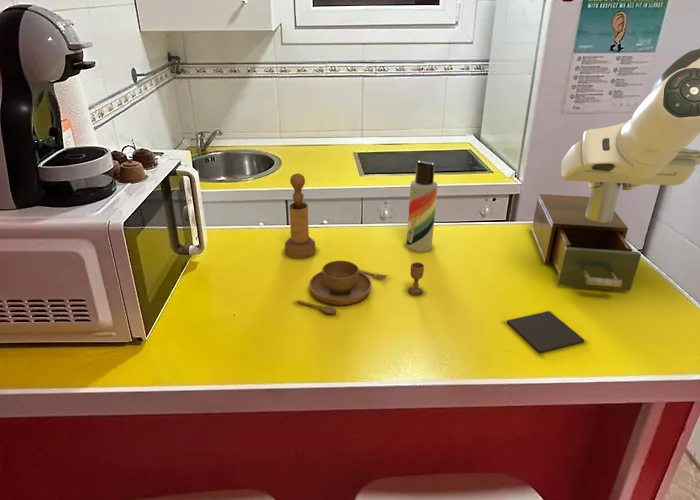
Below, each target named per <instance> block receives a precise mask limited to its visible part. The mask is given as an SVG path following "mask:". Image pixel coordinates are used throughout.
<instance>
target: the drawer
mask: <svg viewBox="0 0 700 500" xmlns="http://www.w3.org/2000/svg"><path fill="white" fill-rule="evenodd" d="M550 256H551V259H552V261H553V263H554V265H553V266H554V268H555V271H556V273H557V279H556V284H557V285H558V286H567V287H581V288H592V289H607V290H619V291H620V290H621V291H631V289H632V286H633V283H634V279H635V277H636V273H637V270H638V267H639V264H640V260H641V256H642V253H641V252H639V251H633V248H632V247H631V245H630V244H629V242H628V241H627V240H626V238H625V239H624V237H623V236H622V235H621V233H620V232H619V231H610V230H595V229H579V228H564V227H556V230H555V235H554V240H553V244H552V249H551V254H550Z"/></svg>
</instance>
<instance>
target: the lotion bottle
mask: <svg viewBox="0 0 700 500" xmlns="http://www.w3.org/2000/svg"><path fill="white" fill-rule="evenodd" d="M415 165H416V166H415V177H414V180H412V181H411V182H410V186H409V200H408V201H409V203H408V215H407V231H406V247H407V249H408V250H410V251H413V252H417V253H424V252H425V253H426V252H428V251H430V250H431V249H432V246H433V240H434V239H433V238H434V228H435V215H436V207H437V206H436V205H437V195H438V183H437V182H436V181H435V180H434V179H435V169H436V168H435V166H436V163H435V162H432V161H428V160H423V159H419V160H417V161H416V164H415Z"/></svg>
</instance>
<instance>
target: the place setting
mask: <svg viewBox="0 0 700 500" xmlns="http://www.w3.org/2000/svg"><path fill="white" fill-rule="evenodd" d="M424 269H425V265H424V263H423V262H422V263H421V262H411V264H410V277H411V278H412V279H413V284H412V286H413V287H410V288H408V289H407V293H408V294H409V295H410V296H414V297H419V296H422V295H423V293H424V291H423V289H421V288H420V287H419V280H421V279H422V278H423V276H424V271H425V270H424ZM368 275H370V276H372V277H373V278H375V279H380V278H388V277H389V275H388V274H375V273H373V272H369V271H365V270H361V269H359V266H358V265H357V264H356V263H354V262H351V261H349V260H333V261H329V262H328V263H326V264H325V265H323V266H322V268H321V271H319V272H316V273H315V274H314V275H312V277H311V278H310V280H309V283H308V285H309V291H310V292H311V294H312V295H313V297H315V299H317V300H319V301H321V302H323V303H326V304H329V305H335V306H346V305H352V304H355V303H358V302H360V301H362V300H364V299H365V298H366V297H367V296H368V295H369V294H370V292H371V290H372V280H371V278H370V277H369V276H368ZM296 303H299V304H301V305H306V306H311V307H314V308H318V309H319V310H320V311H322V312H323V313H326V314H335V313H337V312H338V310H337V308H335V307H333V306H327V305H326V306H321V305H317V304H314V303H312V302H307V301H302V300H297V301H296Z"/></svg>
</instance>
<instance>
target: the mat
mask: <svg viewBox="0 0 700 500" xmlns="http://www.w3.org/2000/svg"><path fill="white" fill-rule="evenodd" d="M506 324H507V325H508V326H509V327H510V328H511V329H512V330H513V331H514V332H515V333H516V334H517V335H519V337H521V338H522V339H523V340H524V341H525V342H526V343H527V344H528V345H529V346H530V347H531V348H532V349H533V350H534V351H535V352H537V353H538V354H539V355H540V354H545V353H548V352H553V351H556V350H559V349H564V348H568V347H573V346H577V345H580V344H584V343H585V339H584V337H582V336H580V335H579V334H578V332H575V330H573V329H572V328H571V327H569V326H568V325H567V324H566V323H564V322H563V321H562V320H561V319H559V317H557V316H556V315H555V314H554V313H552V312H551V311H550V310H547V311H544V312H538V313H534V314H530V315H525V316H521V317H516V318H512V319H507V320H506Z"/></svg>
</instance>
